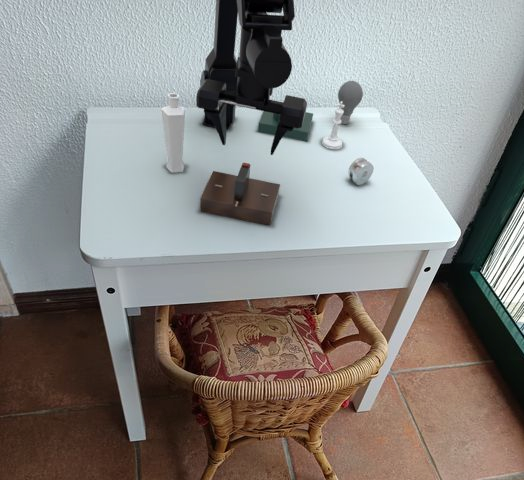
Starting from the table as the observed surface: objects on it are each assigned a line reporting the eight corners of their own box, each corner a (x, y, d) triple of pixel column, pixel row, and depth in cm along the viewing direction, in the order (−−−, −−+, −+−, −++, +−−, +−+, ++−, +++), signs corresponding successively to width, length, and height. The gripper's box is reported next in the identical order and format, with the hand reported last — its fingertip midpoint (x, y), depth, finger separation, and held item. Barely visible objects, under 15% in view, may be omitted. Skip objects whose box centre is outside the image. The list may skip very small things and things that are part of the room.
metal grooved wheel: (352, 187, 106) (358, 166, 103) (344, 180, 108) (350, 159, 104) (369, 182, 109) (376, 161, 105) (361, 175, 110) (367, 154, 106)
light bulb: (346, 131, 122) (356, 89, 114) (327, 121, 124) (336, 80, 116) (359, 124, 125) (370, 83, 117) (341, 114, 127) (350, 74, 120)
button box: (258, 131, 117) (259, 115, 114) (265, 112, 123) (267, 96, 120) (306, 141, 117) (309, 125, 114) (311, 122, 123) (314, 106, 120)
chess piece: (340, 151, 116) (351, 108, 108) (320, 147, 116) (329, 104, 108) (342, 141, 119) (353, 99, 111) (323, 137, 119) (332, 95, 111)
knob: (242, 200, 94) (243, 181, 90) (233, 199, 94) (235, 179, 90) (248, 182, 98) (250, 163, 95) (241, 181, 98) (242, 161, 95)
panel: (199, 212, 95) (199, 198, 93) (213, 182, 102) (213, 169, 99) (269, 226, 95) (271, 213, 92) (278, 196, 101) (280, 182, 99)
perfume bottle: (166, 160, 105) (162, 88, 93) (186, 163, 105) (185, 91, 94) (162, 172, 102) (158, 99, 90) (183, 174, 102) (182, 102, 91)
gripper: (318, 52, 84) (302, 138, 96) (213, 30, 85) (210, 119, 97) (310, 78, 77) (294, 167, 89) (195, 55, 78) (195, 147, 90)
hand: (248, 148), depth 92 cm, fingers open, 9 cm apart
